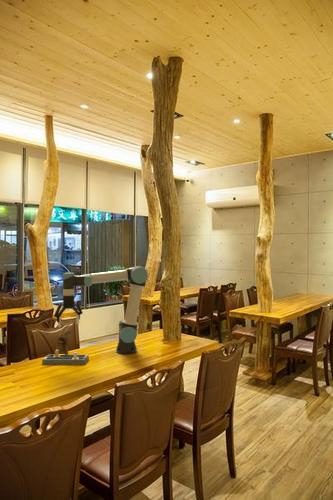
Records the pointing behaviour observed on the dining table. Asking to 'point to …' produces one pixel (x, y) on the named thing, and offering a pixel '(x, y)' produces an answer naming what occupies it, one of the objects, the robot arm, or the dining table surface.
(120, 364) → the dining table surface
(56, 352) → the tab ochre
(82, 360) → the switch bank
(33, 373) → the dining table surface
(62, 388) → the dining table surface
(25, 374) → the dining table surface
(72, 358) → the tab ivory
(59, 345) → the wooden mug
